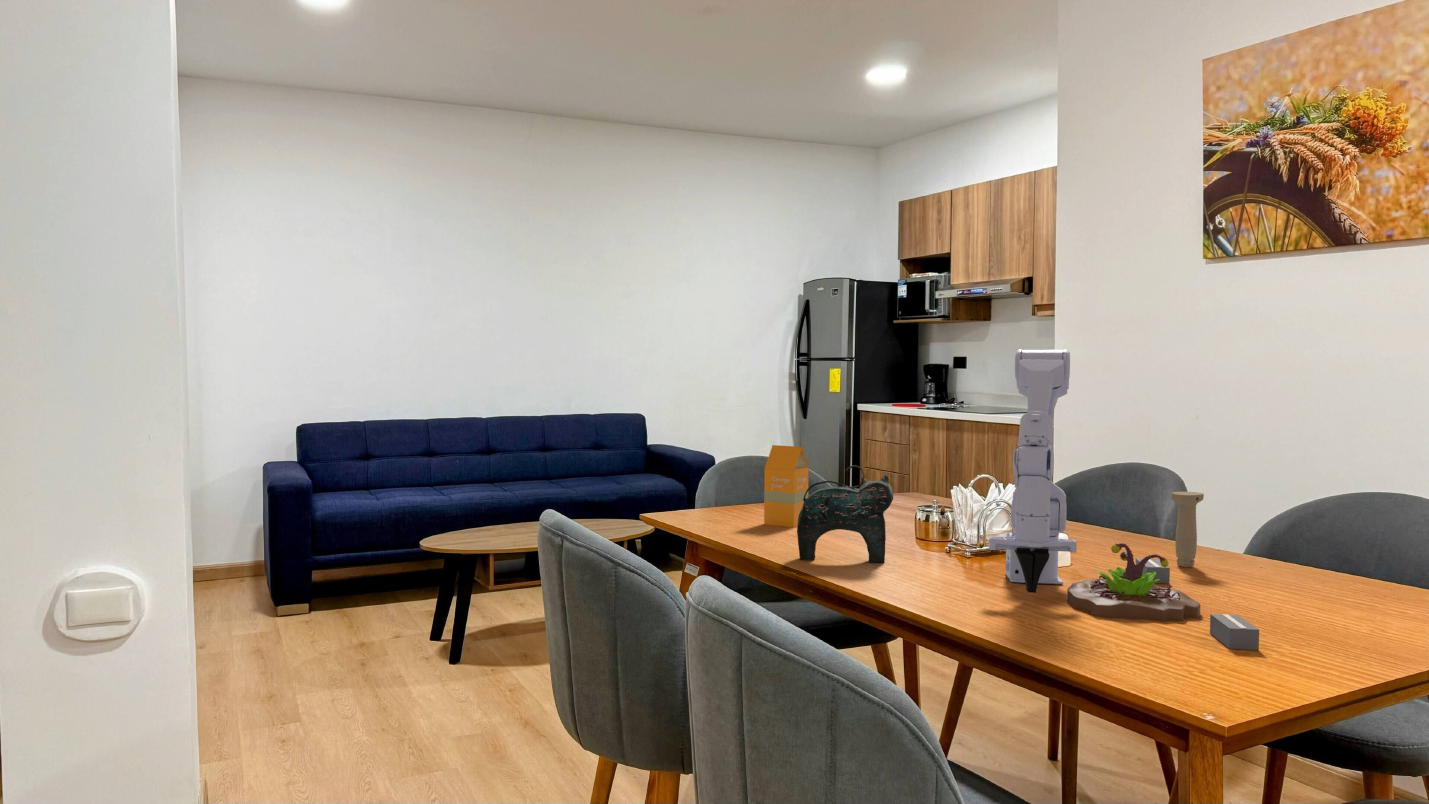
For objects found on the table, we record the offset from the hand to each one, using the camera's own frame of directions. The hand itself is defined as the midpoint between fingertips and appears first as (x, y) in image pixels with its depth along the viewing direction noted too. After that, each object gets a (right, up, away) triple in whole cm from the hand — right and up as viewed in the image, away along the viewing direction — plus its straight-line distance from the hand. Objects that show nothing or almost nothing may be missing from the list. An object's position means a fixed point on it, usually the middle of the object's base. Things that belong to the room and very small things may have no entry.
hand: (1031, 591), depth 167 cm
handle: (+41, -1, +28) cm, 49 cm away
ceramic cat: (-28, 0, +32) cm, 43 cm away
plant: (+15, -2, -4) cm, 16 cm away
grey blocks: (+25, -2, -4) cm, 26 cm away
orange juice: (-37, +2, +77) cm, 86 cm away
